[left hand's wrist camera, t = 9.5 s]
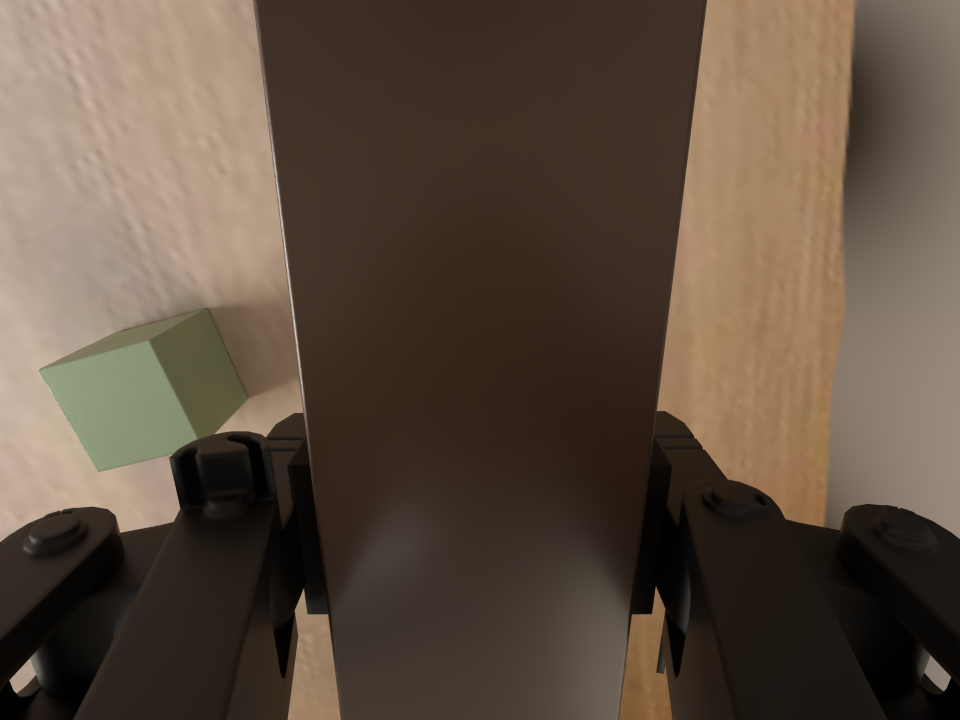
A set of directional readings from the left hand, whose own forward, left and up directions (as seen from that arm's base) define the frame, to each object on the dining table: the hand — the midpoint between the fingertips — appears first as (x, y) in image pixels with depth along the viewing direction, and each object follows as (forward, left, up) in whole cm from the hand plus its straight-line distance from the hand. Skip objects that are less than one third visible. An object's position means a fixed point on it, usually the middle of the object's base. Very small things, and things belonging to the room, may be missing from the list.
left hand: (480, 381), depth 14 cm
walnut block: (+9, 0, 0) cm, 9 cm away
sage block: (-4, +15, -13) cm, 20 cm away
